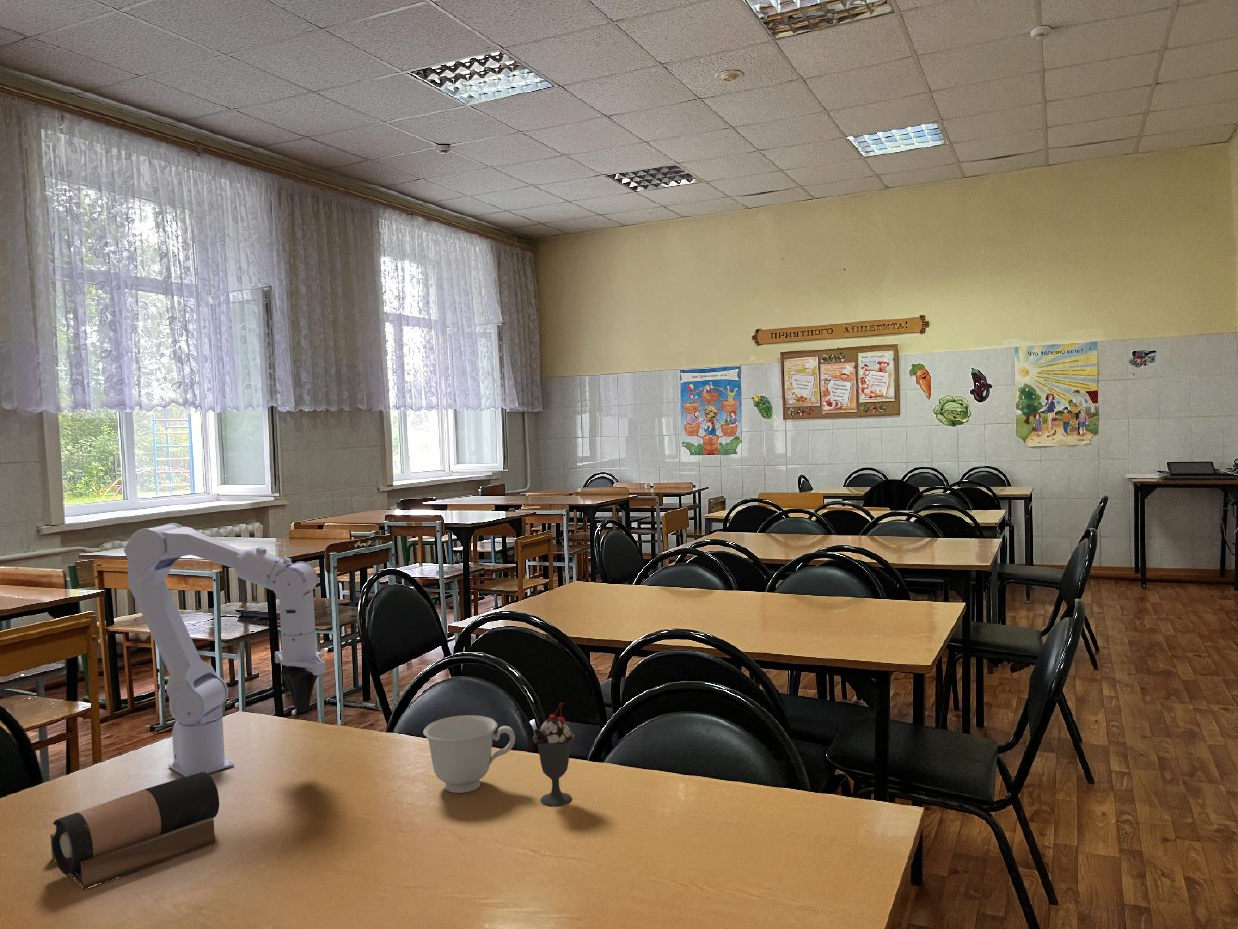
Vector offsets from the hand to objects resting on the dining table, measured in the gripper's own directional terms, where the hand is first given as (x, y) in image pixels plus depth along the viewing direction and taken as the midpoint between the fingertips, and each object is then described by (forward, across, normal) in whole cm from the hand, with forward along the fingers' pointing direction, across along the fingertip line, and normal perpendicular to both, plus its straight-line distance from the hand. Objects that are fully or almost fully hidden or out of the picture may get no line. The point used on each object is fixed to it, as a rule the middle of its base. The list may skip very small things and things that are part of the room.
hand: (301, 708), depth 160 cm
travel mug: (+6, -11, +21) cm, 25 cm away
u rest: (+10, -11, +32) cm, 35 cm away
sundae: (+11, -46, -18) cm, 51 cm away
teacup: (+11, -31, -13) cm, 35 cm away
